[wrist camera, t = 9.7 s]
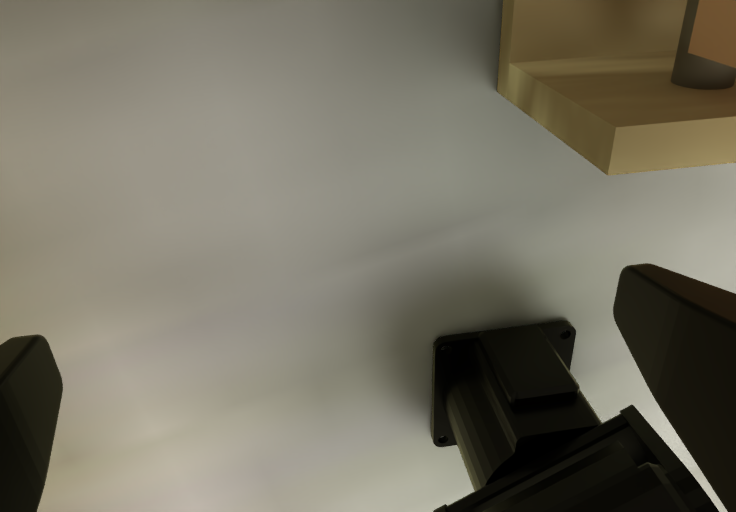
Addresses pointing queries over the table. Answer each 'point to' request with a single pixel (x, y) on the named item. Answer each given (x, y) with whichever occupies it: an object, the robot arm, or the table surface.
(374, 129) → the table surface
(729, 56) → the tan rectangular block
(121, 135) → the table surface
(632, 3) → the shelf frame
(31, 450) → the robot arm
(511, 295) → the table surface
